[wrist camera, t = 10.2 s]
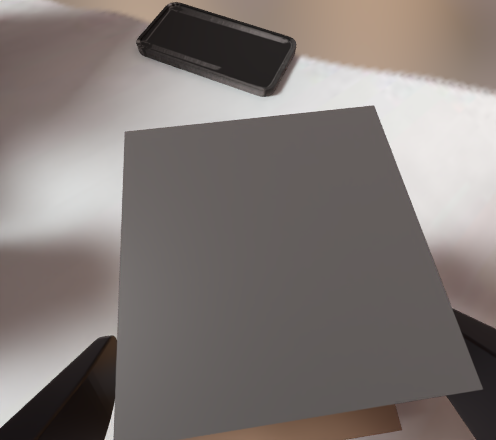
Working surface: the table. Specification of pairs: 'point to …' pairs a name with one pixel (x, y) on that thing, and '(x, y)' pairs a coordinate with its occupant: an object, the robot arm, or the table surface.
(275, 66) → the phone
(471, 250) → the table surface
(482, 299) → the table surface
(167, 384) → the grey-topped tan box
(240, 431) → the dock
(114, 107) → the table surface
